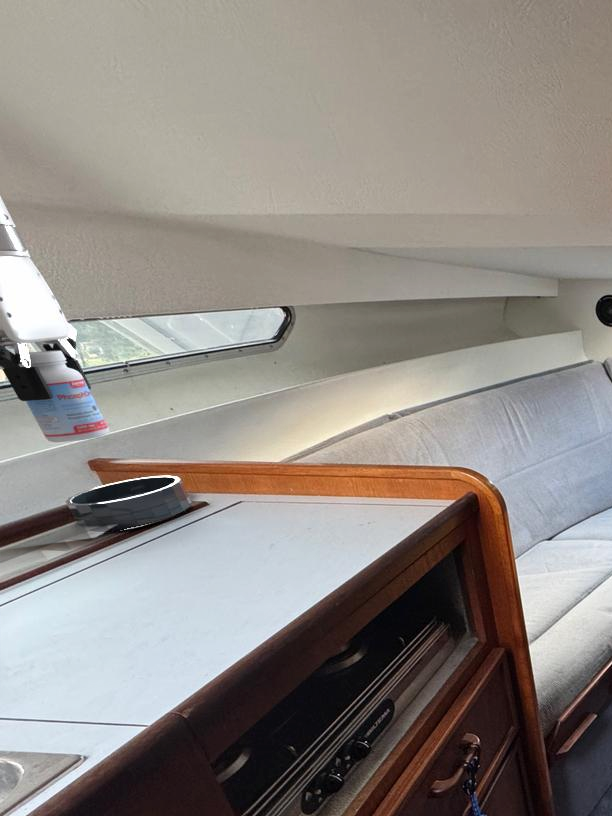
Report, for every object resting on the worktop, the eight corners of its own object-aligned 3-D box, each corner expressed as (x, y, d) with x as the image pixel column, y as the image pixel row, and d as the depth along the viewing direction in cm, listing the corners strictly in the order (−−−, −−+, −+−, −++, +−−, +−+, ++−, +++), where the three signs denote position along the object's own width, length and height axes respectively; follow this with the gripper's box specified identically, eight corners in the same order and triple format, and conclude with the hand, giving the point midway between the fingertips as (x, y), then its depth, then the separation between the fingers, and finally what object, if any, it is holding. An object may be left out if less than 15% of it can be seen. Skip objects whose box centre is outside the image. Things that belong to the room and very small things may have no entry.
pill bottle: (91, 440, 76) (46, 353, 71) (35, 445, 74) (-15, 356, 69) (122, 430, 81) (81, 348, 76) (70, 434, 80) (26, 351, 75)
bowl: (60, 541, 84) (41, 510, 82) (117, 510, 95) (102, 482, 93) (166, 527, 87) (150, 497, 85) (208, 498, 98) (196, 471, 96)
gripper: (0, 247, 74) (71, 386, 82) (-141, 239, 59) (-37, 410, 67) (69, 246, 76) (133, 382, 83) (-50, 238, 61) (41, 405, 68)
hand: (57, 393), depth 75 cm, fingers closed on pill bottle, 6 cm apart
